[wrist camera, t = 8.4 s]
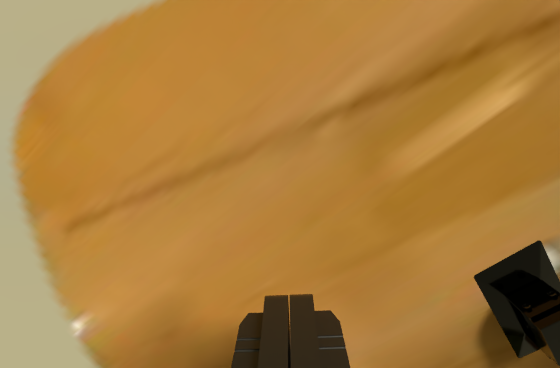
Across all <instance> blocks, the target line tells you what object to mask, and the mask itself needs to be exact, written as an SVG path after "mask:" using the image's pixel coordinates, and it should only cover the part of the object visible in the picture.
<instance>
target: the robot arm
mask: <svg viewBox="0 0 560 368" xmlns="http://www.w3.org/2000/svg"><path fill="white" fill-rule="evenodd" d="M290 343H291V347H290ZM231 368H350V365H349V360H348V356H347V351H346V348H345V342H344V338H343V334H342V329H341V325H340V321H339V320H338V319H337V318H336V317H335V315H334V314H333V313H332V312H331V311H330V310H328V311H314V303H313V295H312V294H303V295H290V325H289V306H288V295H276V296H265V301H264V311H263V313H248V315H247V316H246V317H245V318H244V320H243V321H242V322H241V324H240V326H239V331H238V336H237V341H236V346H235V352H234V356H233V361H232V366H231Z"/></svg>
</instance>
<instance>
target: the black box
mask: <svg viewBox="0 0 560 368" xmlns="http://www.w3.org/2000/svg"><path fill="white" fill-rule="evenodd" d="M474 279H475V280H476V282H477V284H478V286H479V288H480V289H481V291H482V293H483V295H484V297H485V299H486V300H487V302H488V304H489V306H490V308H491V309H492V311H493V313H494V315H495V317H496V318H497V320H498V322H499V324H500V326H501V328H502V329H503V331H504V333H505V335H506V337H507V338H508V340H509V342H510V344H511V346H512V348H513V349H514V351H515V353H516V355H517V357H518V358H521V357H524V356H526V355H528V354H530V353H532V352H535V351H537V350H539V349H541V350H542V351H543V352H544V353H545V354H546V355H547V356H548V357H549V358H550V359H552V360H553V361H554V362H555V363H556V364H557V365H559V366H560V281H559V279H558V277H557V275H556V273H555V271H554V268H553V266H552V264H551V262H550V260H549V258H548V255H547V253H546V251H545V249H544V247H543V245H542V242H541V241H536V242H535V243H533V244H531V245H529V246H527V247H525V248H524V249H522V250H520V251H518V252H516V253H515V254H513V255H511V256H509V257H507V258H505V259H504V260H502V261H500V262H498V263H496V264H495V265H493V266H491V267H489V268H487V269H485V270H484V271H482V272H480V273H478V274H476V275H475V276H474Z"/></svg>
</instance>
